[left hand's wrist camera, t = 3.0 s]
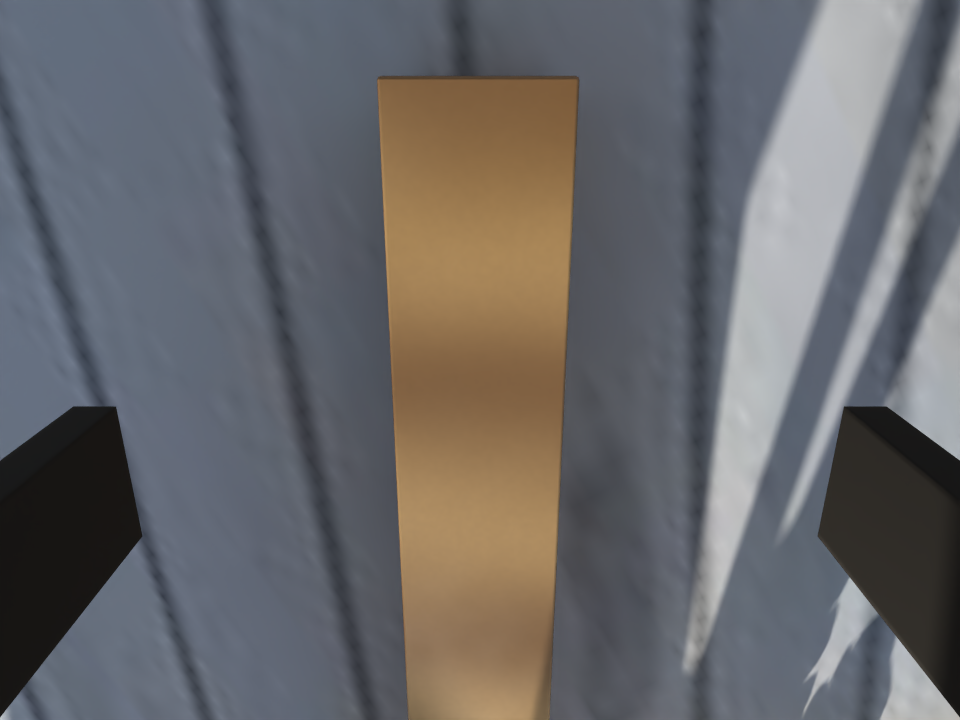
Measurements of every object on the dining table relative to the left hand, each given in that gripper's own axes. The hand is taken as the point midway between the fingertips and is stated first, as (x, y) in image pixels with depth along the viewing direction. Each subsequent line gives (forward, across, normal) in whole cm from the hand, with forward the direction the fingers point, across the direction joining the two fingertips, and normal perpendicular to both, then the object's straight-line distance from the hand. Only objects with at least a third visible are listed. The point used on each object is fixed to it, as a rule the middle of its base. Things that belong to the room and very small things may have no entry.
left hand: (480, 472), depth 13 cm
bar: (+14, 0, -27) cm, 30 cm away
